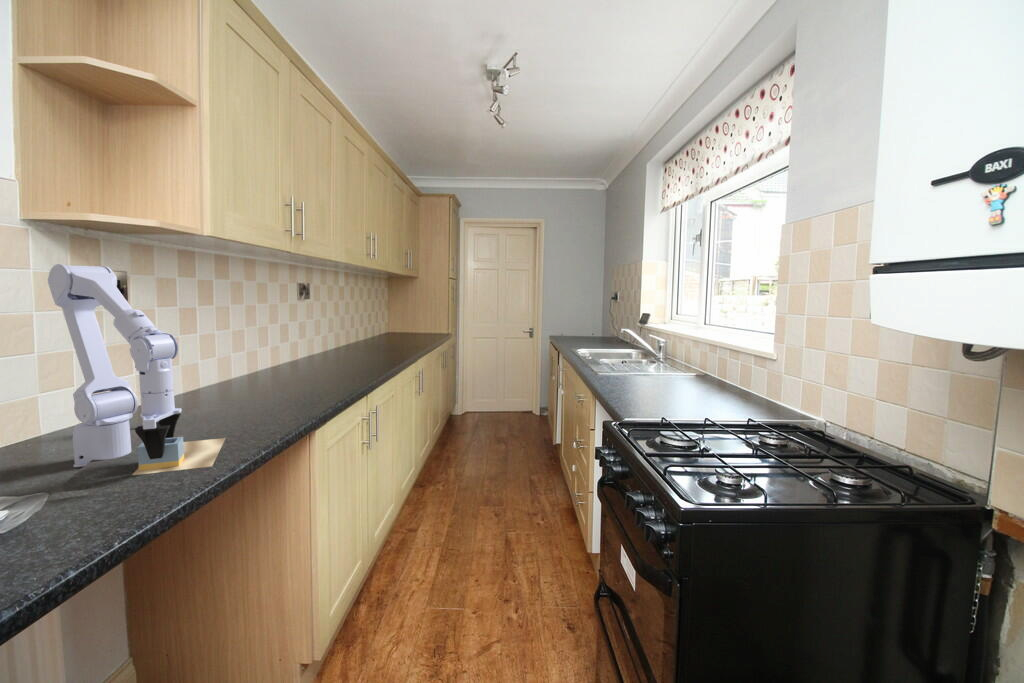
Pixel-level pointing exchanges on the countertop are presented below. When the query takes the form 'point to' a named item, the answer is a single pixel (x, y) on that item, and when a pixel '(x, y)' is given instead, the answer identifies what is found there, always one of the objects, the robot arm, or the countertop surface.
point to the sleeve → (170, 457)
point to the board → (193, 456)
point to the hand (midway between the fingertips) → (161, 452)
